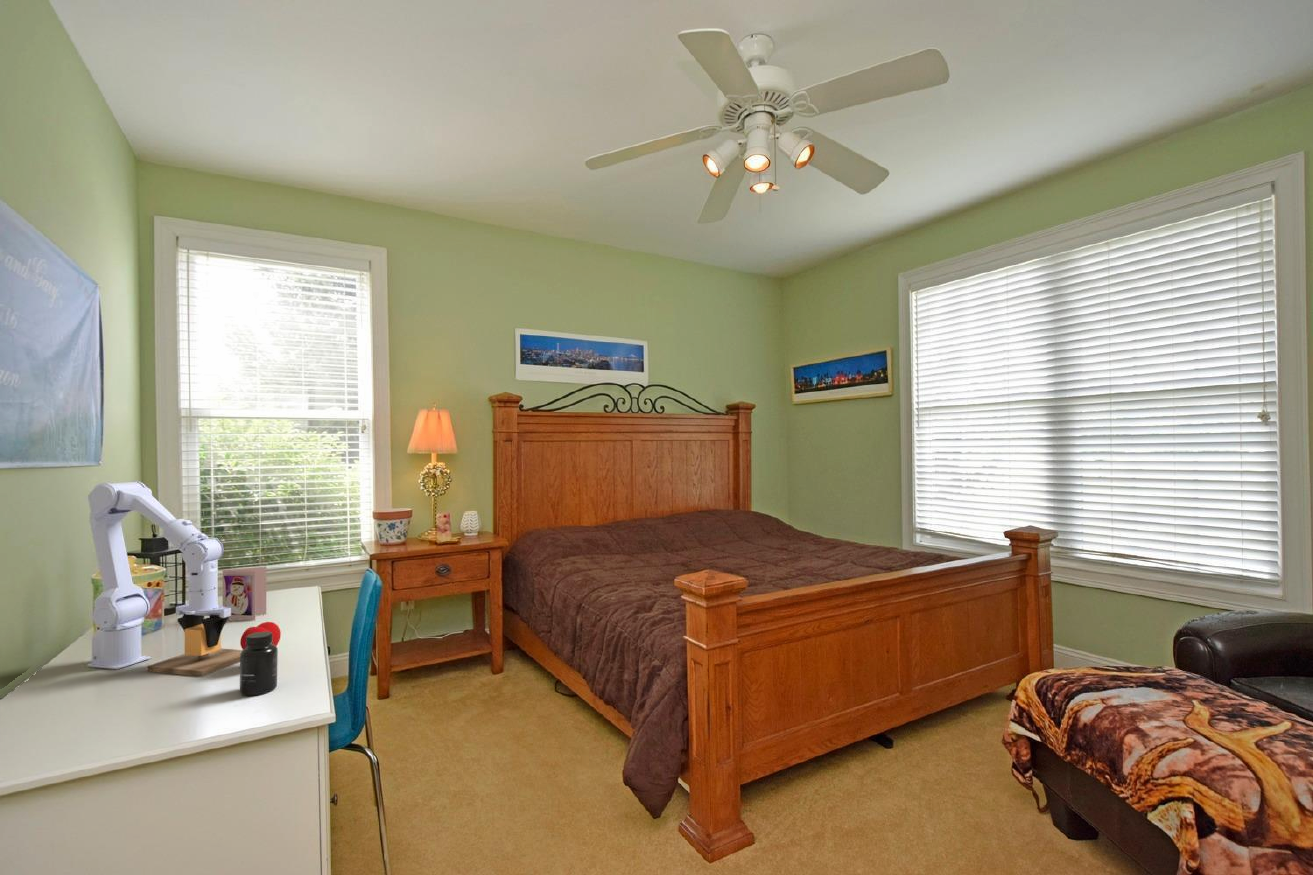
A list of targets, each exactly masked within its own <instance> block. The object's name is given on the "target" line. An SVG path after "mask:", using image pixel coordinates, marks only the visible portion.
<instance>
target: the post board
mask: <svg viewBox="0 0 1313 875" xmlns="http://www.w3.org/2000/svg"><path fill="white" fill-rule="evenodd" d="M242 651H243V649H235V648H234V649H232V648H221V649H219V650H216V651H213V652H210V653H208V654H205V655H202V656H199V655H187V654H185V653H182V654H180V655H177V656H174V657H171V658H168V659H165V660H162V661H159V662H156V663H153V664H150V665H147V672H150V673H151V672H152V673H153V672H154V673H163V674H172V675H183V676H192V675H193V676H195V677H204V676H208V675H209V674H212V673H215V672H218V671H220V670H222V669H226V668H228V667H230V666H232V665H236V664H238V663H239V664H240V654H241V652H242ZM193 676H192V677H193Z"/></svg>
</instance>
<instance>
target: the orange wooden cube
mask: <svg viewBox="0 0 1313 875" xmlns="http://www.w3.org/2000/svg"><path fill="white" fill-rule="evenodd" d="M221 636H222V633H221V634H220V637H219V641H218V644H217V645H216V646H213V647H208V646H207V642H206V633H205V629H204V626H203V624H200V625H197V626H194V627H190V628H187V629H185V632H184V654H187V655H199V656H202V655H205V654H208V653H210V652H213V651H216V650H219V649H221V646H222V645H221V643H222V640H221V639H222V637H221Z"/></svg>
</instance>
